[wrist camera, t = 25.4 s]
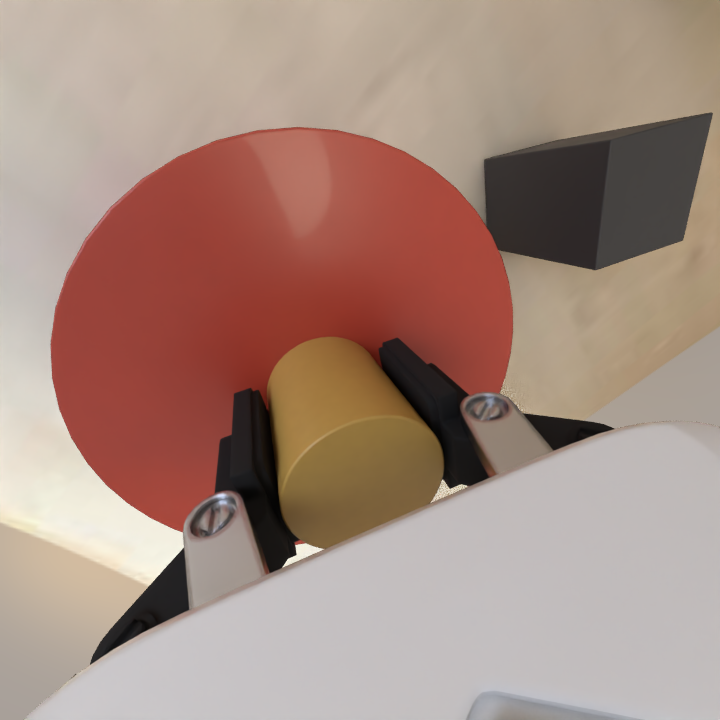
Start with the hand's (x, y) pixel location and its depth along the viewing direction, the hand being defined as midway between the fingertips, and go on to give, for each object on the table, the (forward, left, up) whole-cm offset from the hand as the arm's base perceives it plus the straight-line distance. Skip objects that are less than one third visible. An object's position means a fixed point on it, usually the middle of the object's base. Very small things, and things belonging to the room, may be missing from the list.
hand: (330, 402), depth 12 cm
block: (+11, +9, -8) cm, 16 cm away
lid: (0, 0, -2) cm, 2 cm away
